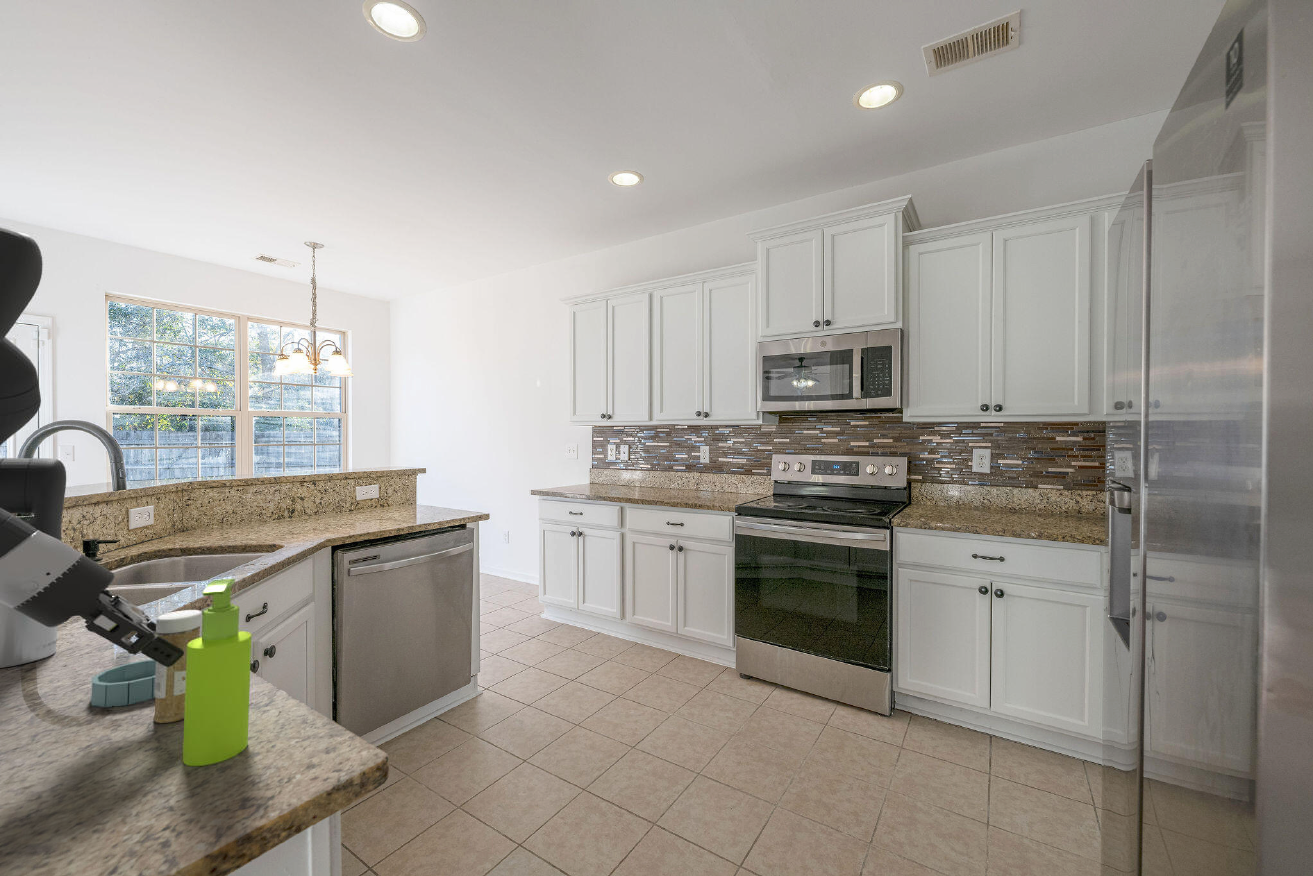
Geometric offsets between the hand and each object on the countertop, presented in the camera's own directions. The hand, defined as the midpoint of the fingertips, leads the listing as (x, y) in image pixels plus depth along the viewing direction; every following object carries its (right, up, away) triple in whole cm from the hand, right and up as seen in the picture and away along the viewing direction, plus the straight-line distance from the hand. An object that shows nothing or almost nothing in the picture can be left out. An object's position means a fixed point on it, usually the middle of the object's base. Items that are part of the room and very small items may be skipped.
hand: (172, 651), depth 71 cm
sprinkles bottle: (0, -9, 0) cm, 9 cm away
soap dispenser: (+12, -9, -8) cm, 17 cm away
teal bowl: (-11, -9, +7) cm, 16 cm away
